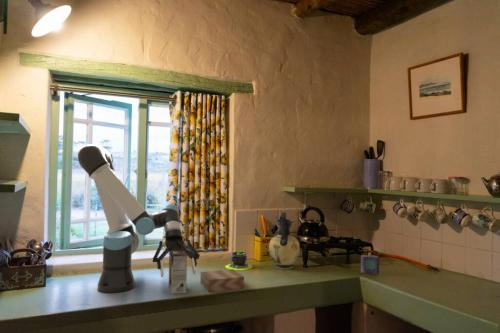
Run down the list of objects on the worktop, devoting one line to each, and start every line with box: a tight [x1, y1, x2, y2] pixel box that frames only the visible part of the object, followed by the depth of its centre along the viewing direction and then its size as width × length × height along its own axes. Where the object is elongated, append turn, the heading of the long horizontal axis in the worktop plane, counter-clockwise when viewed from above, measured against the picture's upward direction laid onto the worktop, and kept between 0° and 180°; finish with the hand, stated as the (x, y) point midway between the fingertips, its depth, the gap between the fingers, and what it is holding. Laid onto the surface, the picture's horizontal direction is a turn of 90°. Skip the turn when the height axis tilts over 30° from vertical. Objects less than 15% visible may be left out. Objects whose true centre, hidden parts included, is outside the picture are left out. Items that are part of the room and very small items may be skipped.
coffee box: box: [168, 250, 188, 295], centre depth 152 cm, size 9×6×16 cm
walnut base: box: [200, 269, 245, 293], centre depth 159 cm, size 16×14×5 cm
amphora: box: [268, 211, 301, 270], centre depth 196 cm, size 18×17×30 cm
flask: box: [360, 252, 380, 275], centre depth 186 cm, size 9×3×11 cm, turn 79°
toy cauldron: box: [225, 246, 253, 271], centre depth 195 cm, size 15×15×11 cm
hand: (178, 274), depth 150 cm, fingers open, 13 cm apart
